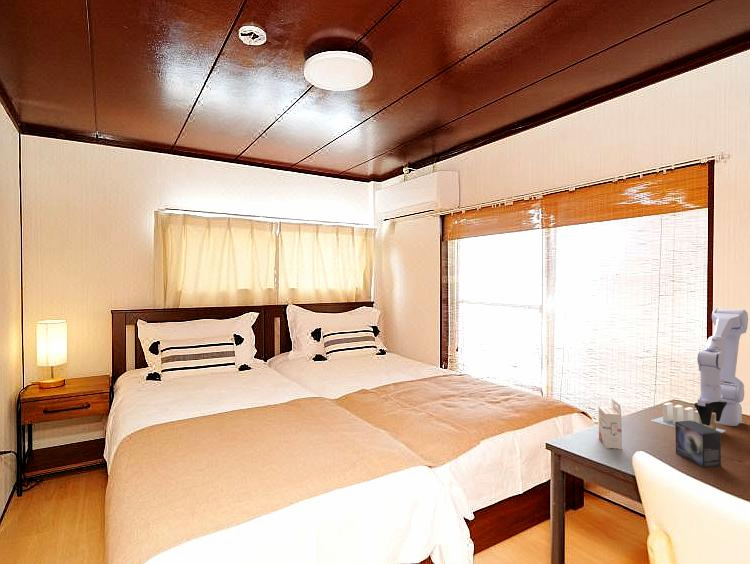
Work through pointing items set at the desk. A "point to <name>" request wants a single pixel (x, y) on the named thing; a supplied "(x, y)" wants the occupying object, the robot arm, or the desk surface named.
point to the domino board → (670, 423)
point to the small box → (698, 443)
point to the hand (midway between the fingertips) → (710, 422)
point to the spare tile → (712, 421)
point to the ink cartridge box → (610, 426)
